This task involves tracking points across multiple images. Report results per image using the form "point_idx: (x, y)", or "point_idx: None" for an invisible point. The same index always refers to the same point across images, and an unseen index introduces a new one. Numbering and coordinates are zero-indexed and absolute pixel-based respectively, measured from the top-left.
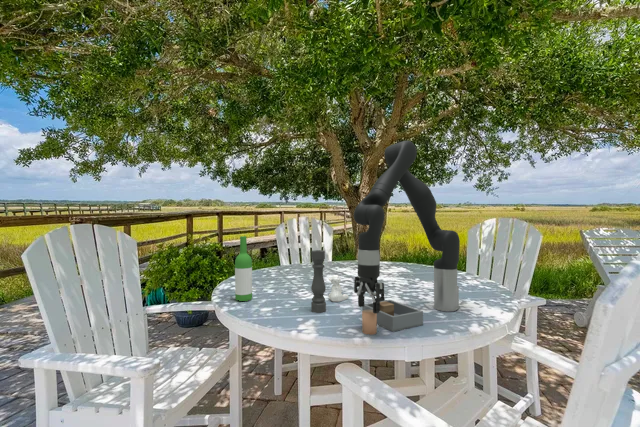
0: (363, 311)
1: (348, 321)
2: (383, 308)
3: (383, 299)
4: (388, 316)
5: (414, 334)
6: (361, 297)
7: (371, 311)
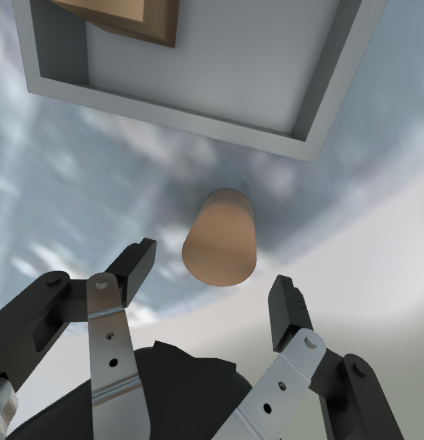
0: (196, 271)
1: (102, 185)
2: (149, 28)
3: (370, 380)
4: (275, 153)
5: (401, 96)
6: (130, 291)
7: (223, 249)
